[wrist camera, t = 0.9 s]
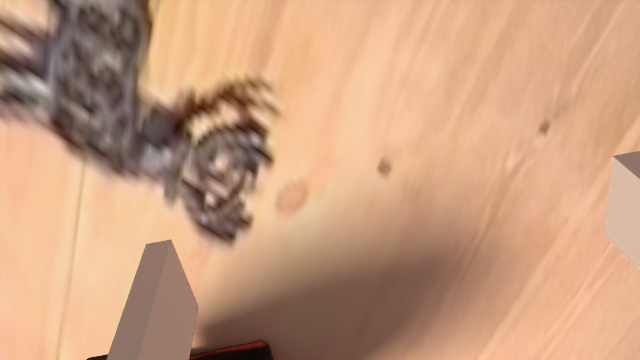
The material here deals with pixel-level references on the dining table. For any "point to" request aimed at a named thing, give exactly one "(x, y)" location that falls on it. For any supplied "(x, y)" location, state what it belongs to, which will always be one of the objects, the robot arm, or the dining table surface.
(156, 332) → the robot arm
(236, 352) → the vase
